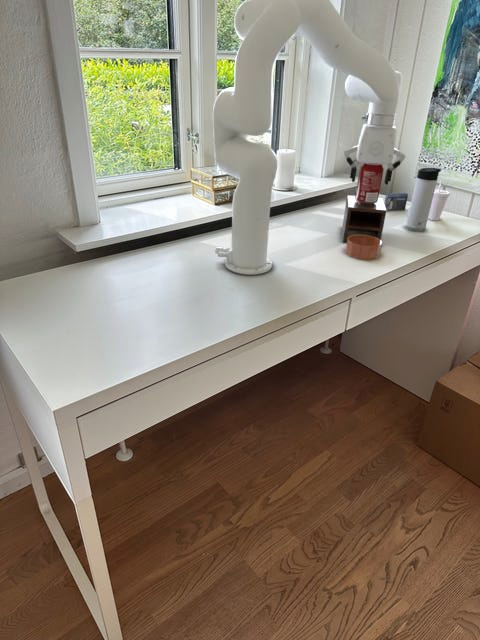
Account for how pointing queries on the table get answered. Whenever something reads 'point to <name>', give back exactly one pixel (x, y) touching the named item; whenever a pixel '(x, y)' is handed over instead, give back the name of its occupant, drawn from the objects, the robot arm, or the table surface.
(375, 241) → the can holder
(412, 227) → the travel mug
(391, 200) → the mini dv tape
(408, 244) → the table surface
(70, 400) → the table surface
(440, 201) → the smoothie
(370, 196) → the soda can
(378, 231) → the desk shelf
